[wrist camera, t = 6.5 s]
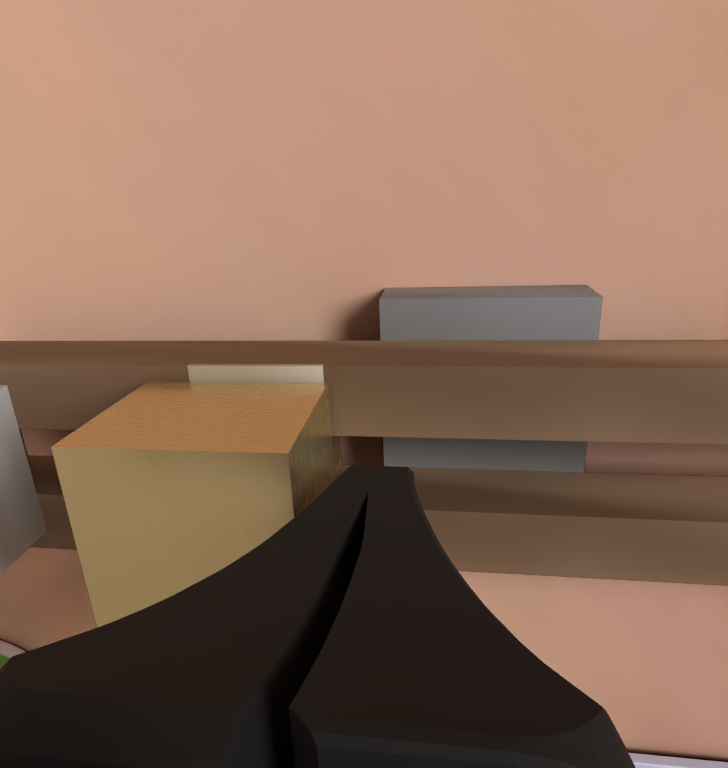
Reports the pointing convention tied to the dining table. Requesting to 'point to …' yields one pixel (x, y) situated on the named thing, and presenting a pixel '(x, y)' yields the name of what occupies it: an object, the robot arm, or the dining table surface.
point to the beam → (442, 426)
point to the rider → (189, 482)
